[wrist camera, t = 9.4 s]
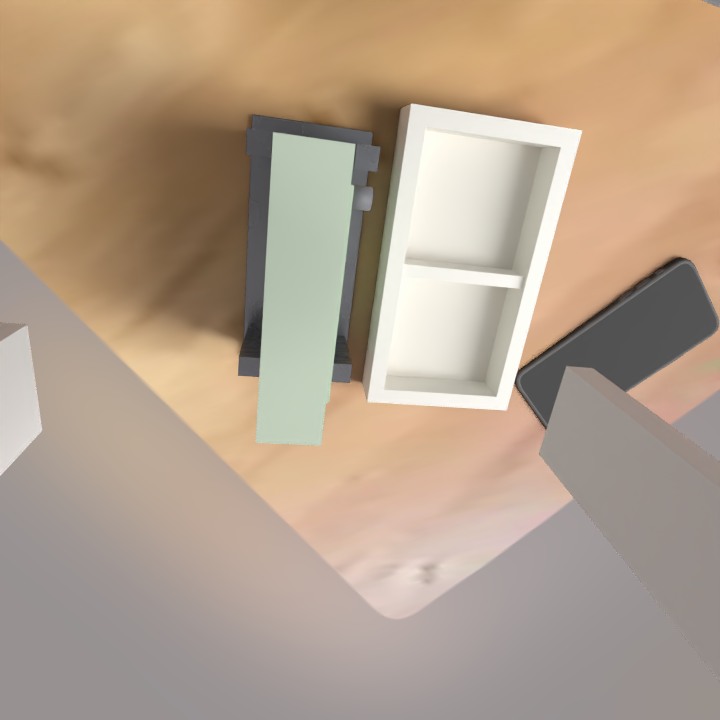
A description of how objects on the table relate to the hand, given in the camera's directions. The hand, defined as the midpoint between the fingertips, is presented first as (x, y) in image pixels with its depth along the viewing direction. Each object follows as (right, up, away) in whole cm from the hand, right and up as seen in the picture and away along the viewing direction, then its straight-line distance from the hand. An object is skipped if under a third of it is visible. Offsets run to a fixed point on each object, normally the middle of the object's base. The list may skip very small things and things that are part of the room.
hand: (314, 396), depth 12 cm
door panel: (-3, +8, +19) cm, 21 cm away
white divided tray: (+7, +7, +21) cm, 23 cm away
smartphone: (+20, +2, +25) cm, 33 cm away
